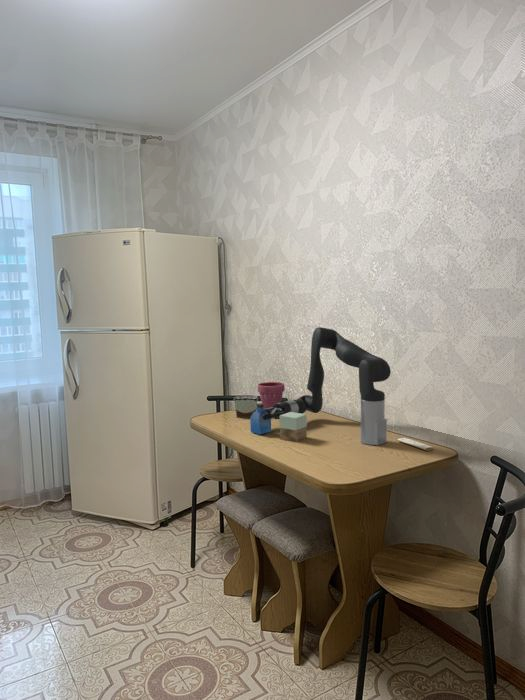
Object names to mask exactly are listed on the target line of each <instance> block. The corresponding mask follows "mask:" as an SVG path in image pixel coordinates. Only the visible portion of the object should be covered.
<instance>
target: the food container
mask: <svg viewBox="0 0 525 700" xmlns="http://www.w3.org/2000/svg"><path fill="white" fill-rule="evenodd" d="M259 401H260V400H259V397H258V396H257V395H251V394H241V395H237V396H234V397H233V402H234V408H235V416H236V418H237V417H251V416H252V412H256V411H257V410H256V407H257V405H256V404H258V402H259Z"/></svg>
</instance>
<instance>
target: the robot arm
mask: <svg viewBox="0 0 525 700" xmlns="http://www.w3.org/2000/svg"><path fill="white" fill-rule="evenodd" d="M321 348H323V349H329V350H331V351H335V356H336V358H337V359H338V360H339V361H341V362H342V363H344V364H345V365H347V366H350V367H353V368H358V383H359V384H358V387H359V393H360V394H359V395H360V443H362V444H364V445H370V446H380V445H383V444H387V437H388V436H387V431H388V430H387V427H388V426H387V425H388V424H387V422H388V420H387V419H386V418H385V413H386V412H385V410H386V408H385V405H386V404H385V403H386V402H385V400H386V399H385V398H386V394H385V392H384V391H382V390H379V389H377V388H375V386H374V385H375V384H374V383H380V382H384V381H386V380H388V379H389V378H390V375H391V367H390V364H389V363H388V362H387V361H386V360H385V358H382V357H379V356H377V355H375V354H373V353H371V352H368V351H367V350H366V349H364V348H362V347H361V346H358V345H357V344H356V343H354V342H352V341H350V340H349V339H346V338H344V336H342V335H341V334H340V333H339V332H337V331H336V330H334V329H332V328H327V327H322V326H319V327H318V326H317V327H315V328H314V330H313V333H312V337H311V347H310V366H309V368H310V369H309V375H308V380H307V384H306V386H307V387H306V390H308V391H309V392H310V393H311V395H309V394H306V395H302V396H299V397H298V398H297V399H291V400H285V401H281V402H280V403H276V404H275V405H274V407H270V408H267V407H264V411H266V412H267V413H268V414H264V415H263V420H267V419H271V420H273V419H275V420H279V421H280V415H283V414H286V413H289V412H294V413H301V414H305V412H306V411H308V412H311V413H313V414H317V413H319V412H321V410H322V408H323V385H324V380H325V370H324V366H323V364H322V363H323V362H322V361H321V356H320V355H321ZM252 414H253V412H252Z"/></svg>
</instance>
